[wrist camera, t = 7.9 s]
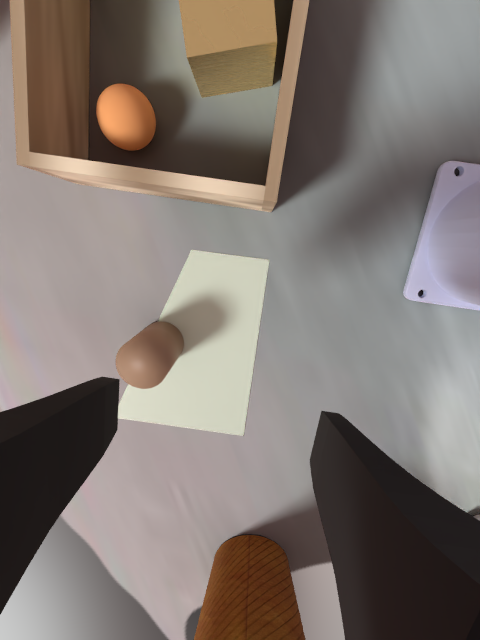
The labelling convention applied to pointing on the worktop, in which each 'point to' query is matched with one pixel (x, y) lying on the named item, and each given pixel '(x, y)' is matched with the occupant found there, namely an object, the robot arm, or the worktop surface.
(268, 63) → the brass cube
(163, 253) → the worktop surface
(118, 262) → the worktop surface
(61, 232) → the worktop surface
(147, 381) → the lid
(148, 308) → the worktop surface
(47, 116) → the box
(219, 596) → the disposable coffee cup
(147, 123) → the orange ball
